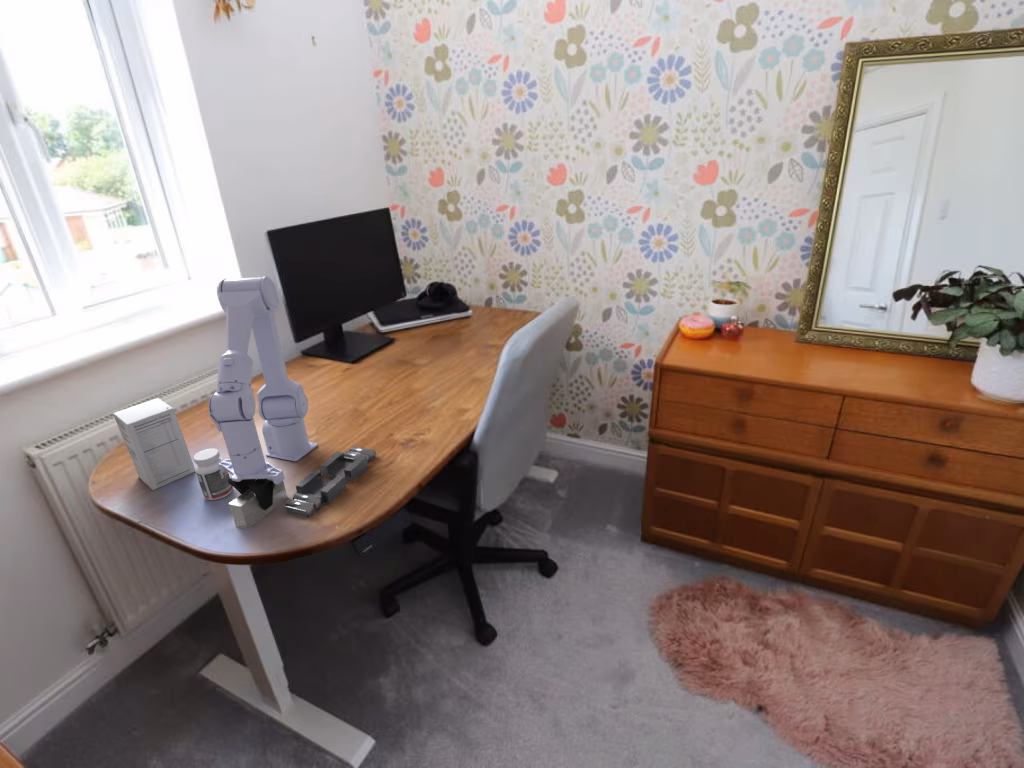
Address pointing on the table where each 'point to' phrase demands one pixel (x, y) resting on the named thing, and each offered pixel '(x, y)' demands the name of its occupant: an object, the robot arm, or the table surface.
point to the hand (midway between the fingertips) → (260, 505)
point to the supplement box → (155, 442)
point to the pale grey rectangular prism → (253, 506)
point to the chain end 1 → (314, 494)
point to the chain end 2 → (348, 463)
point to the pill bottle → (211, 474)
